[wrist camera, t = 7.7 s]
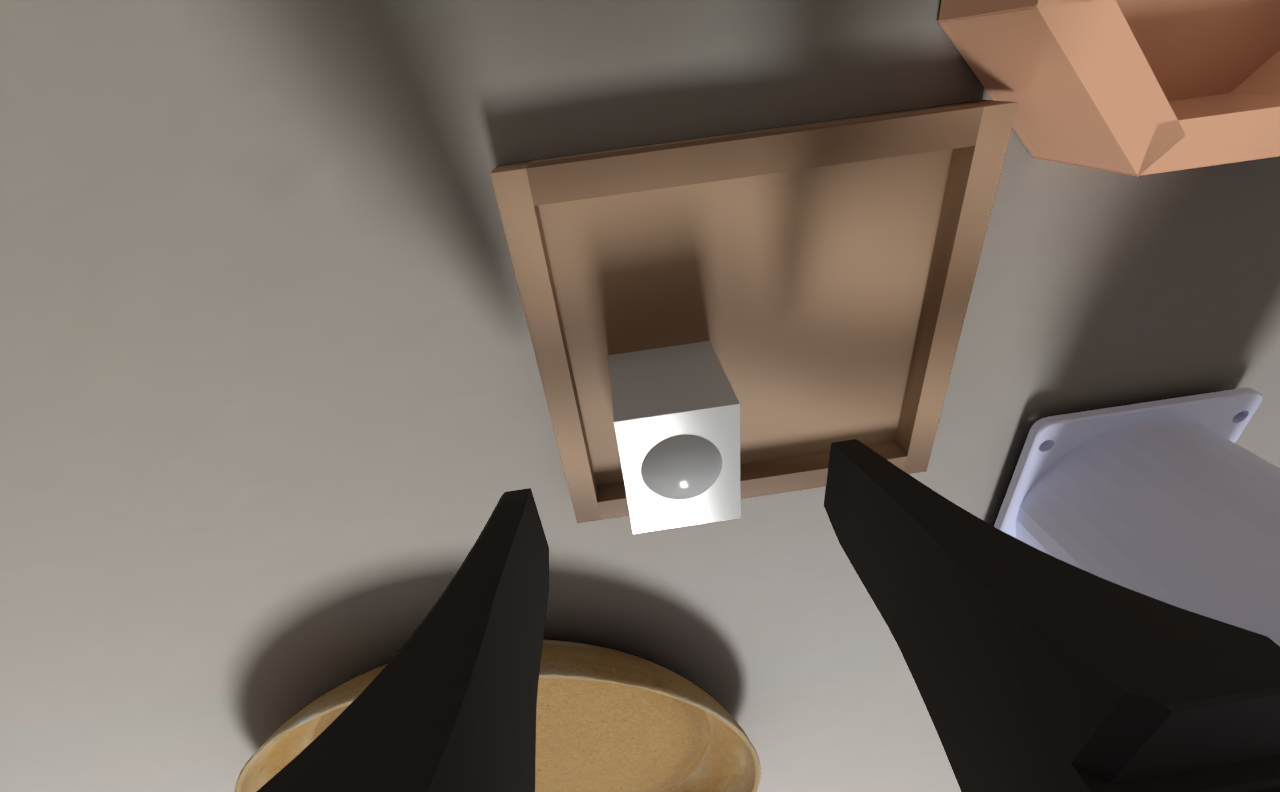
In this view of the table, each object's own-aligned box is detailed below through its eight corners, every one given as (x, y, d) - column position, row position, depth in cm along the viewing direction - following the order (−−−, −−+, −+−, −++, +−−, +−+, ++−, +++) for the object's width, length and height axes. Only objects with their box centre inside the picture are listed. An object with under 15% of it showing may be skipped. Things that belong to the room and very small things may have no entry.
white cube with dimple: (714, 443, 17) (746, 534, 14) (624, 456, 17) (634, 551, 14) (709, 340, 15) (746, 418, 12) (608, 355, 15) (615, 437, 12)
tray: (907, 449, 18) (926, 471, 17) (577, 498, 18) (577, 523, 17) (983, 100, 13) (1018, 102, 12) (497, 165, 12) (489, 173, 11)
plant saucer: (536, 859, 36) (532, 924, 34) (176, 765, 26) (125, 850, 23) (824, 719, 29) (850, 787, 27) (495, 508, 19) (479, 585, 16)
